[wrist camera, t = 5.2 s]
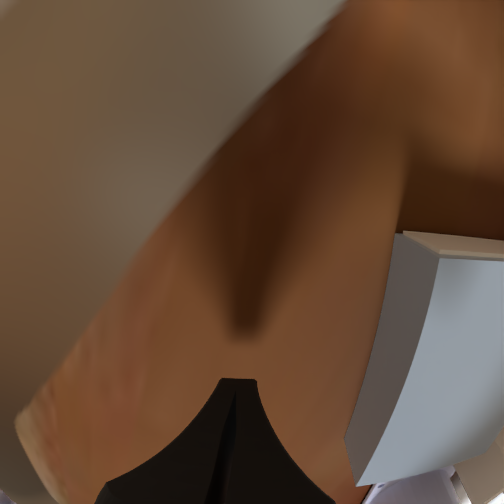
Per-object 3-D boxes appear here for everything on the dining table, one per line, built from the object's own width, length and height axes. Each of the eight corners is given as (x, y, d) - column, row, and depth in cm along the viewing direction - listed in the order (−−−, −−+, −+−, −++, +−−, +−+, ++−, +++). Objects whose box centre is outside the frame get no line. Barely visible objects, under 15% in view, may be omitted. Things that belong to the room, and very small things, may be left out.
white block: (461, 414, 15) (485, 452, 11) (342, 434, 15) (355, 486, 11) (522, 241, 12) (571, 262, 8) (392, 227, 12) (440, 252, 8)
